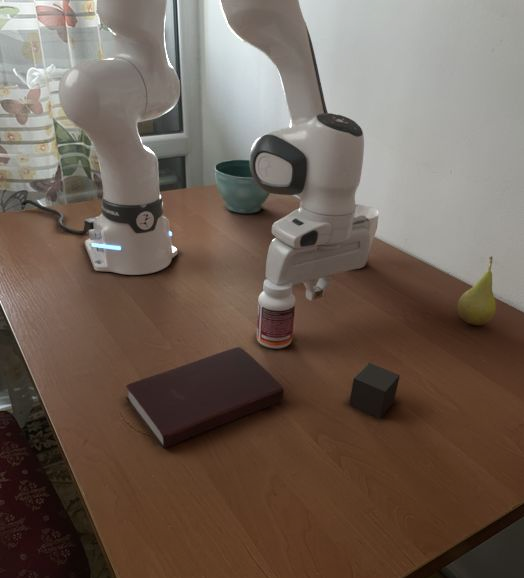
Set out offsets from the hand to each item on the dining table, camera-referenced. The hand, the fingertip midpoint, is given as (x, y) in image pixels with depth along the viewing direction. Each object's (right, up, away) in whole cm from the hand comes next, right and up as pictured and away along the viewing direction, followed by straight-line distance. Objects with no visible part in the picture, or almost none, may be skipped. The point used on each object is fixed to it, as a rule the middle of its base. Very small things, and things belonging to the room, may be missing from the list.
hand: (314, 297), depth 97 cm
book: (-18, -17, -17) cm, 30 cm away
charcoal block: (+7, -17, -15) cm, 24 cm away
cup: (+10, +10, +26) cm, 30 cm away
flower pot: (-14, +29, +53) cm, 62 cm away
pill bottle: (-7, -8, -2) cm, 11 cm away
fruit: (+30, -4, +7) cm, 31 cm away
